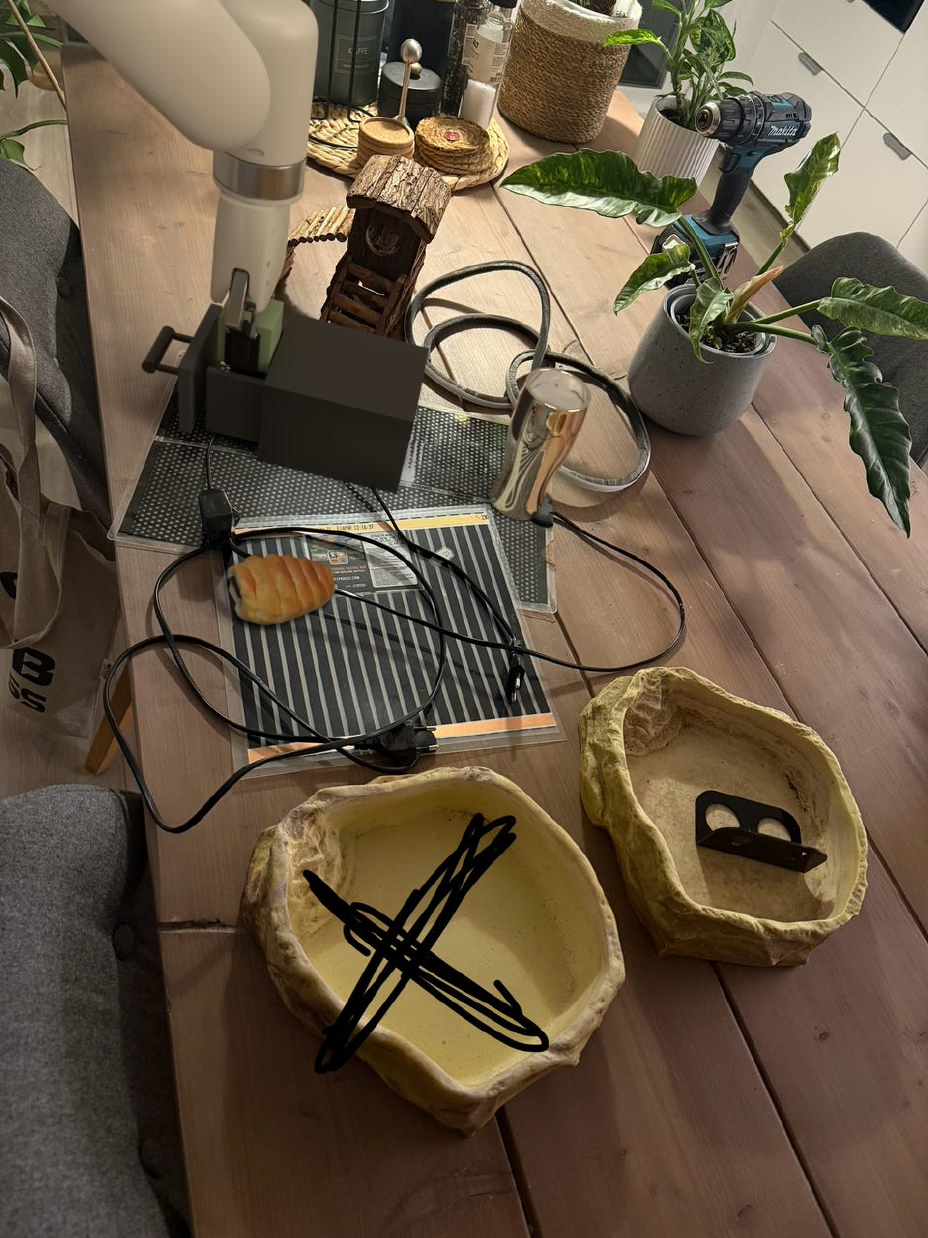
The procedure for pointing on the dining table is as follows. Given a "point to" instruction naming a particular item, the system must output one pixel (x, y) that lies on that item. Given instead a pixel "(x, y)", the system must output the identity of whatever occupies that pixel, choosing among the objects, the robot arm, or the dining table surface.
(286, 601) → the pastry
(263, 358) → the block
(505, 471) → the beer glass
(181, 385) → the drawer
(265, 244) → the robot arm
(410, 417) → the cabinet
